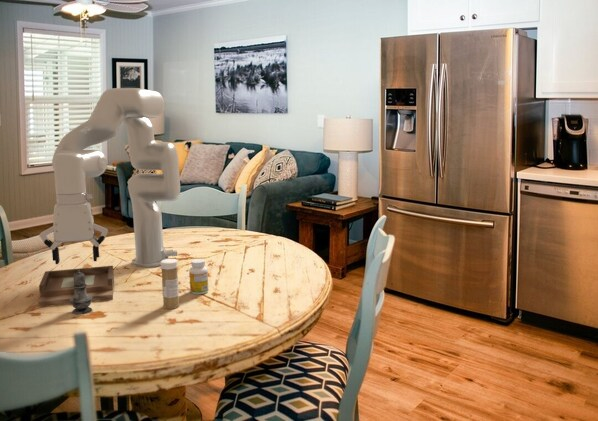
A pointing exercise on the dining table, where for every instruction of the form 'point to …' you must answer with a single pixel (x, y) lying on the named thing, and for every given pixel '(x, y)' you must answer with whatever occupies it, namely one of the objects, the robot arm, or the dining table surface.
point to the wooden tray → (60, 284)
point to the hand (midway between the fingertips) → (76, 261)
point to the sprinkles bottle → (170, 283)
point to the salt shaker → (80, 295)
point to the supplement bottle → (198, 277)
